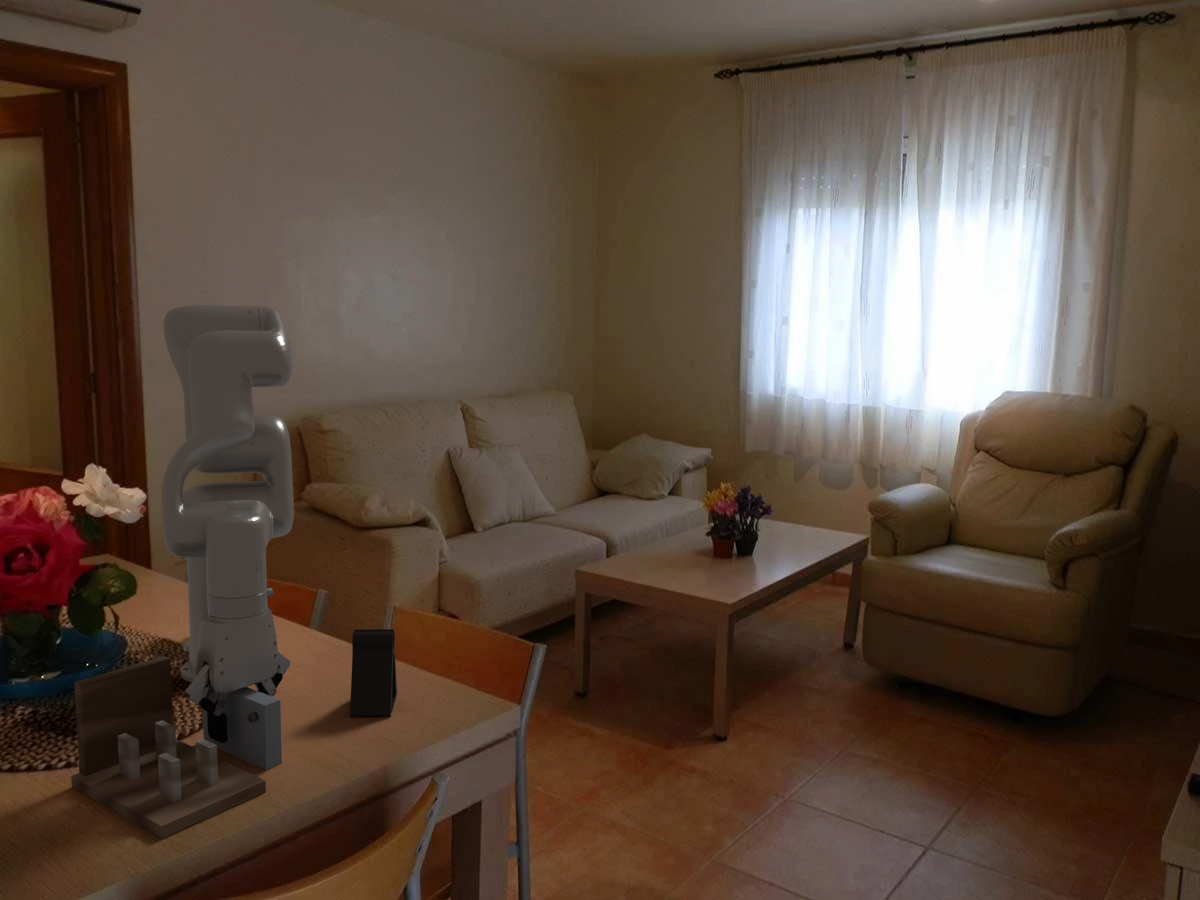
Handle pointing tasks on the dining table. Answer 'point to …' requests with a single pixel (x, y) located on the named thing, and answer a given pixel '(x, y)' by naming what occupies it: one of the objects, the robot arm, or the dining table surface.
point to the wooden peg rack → (149, 753)
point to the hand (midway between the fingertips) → (241, 730)
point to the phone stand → (373, 673)
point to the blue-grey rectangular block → (251, 727)
